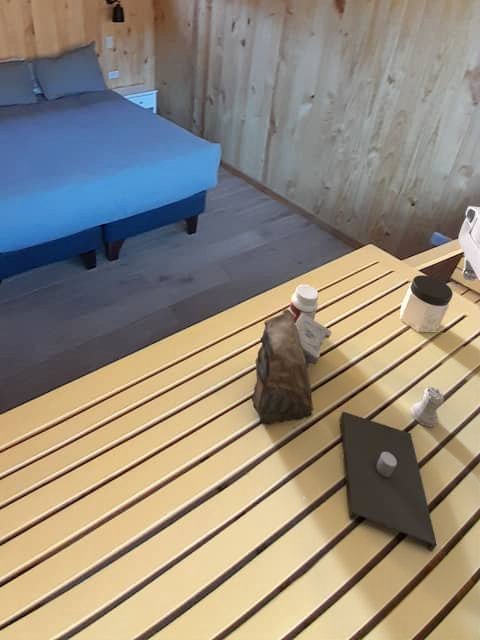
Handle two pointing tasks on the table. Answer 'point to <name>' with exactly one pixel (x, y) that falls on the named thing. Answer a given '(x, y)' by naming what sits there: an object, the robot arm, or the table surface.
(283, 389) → the brown rock
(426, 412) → the rook chess piece
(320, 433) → the table surface
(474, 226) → the robot arm
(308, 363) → the incense holder
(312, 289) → the pill bottle
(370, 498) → the lid
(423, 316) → the jar
